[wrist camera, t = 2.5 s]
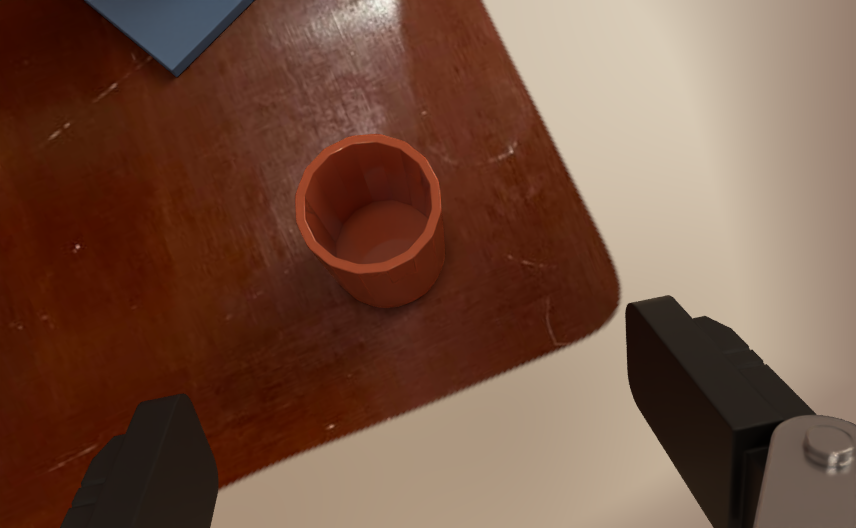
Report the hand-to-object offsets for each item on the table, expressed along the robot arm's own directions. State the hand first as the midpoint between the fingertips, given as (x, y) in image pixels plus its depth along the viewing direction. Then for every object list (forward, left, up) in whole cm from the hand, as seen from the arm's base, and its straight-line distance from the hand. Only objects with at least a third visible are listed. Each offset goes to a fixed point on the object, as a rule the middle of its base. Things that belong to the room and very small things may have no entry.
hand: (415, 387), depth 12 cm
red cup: (-4, -8, -22) cm, 24 cm away
